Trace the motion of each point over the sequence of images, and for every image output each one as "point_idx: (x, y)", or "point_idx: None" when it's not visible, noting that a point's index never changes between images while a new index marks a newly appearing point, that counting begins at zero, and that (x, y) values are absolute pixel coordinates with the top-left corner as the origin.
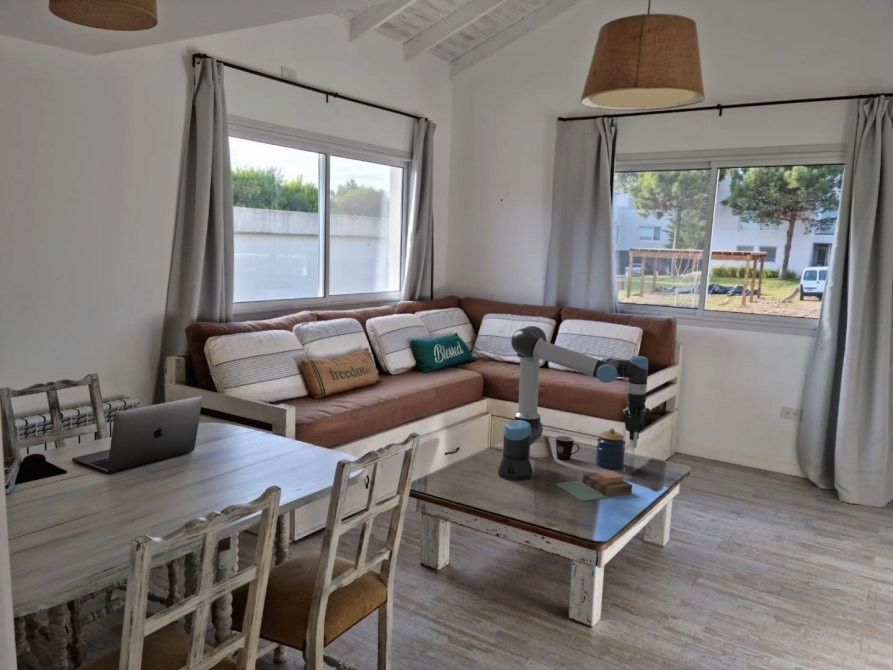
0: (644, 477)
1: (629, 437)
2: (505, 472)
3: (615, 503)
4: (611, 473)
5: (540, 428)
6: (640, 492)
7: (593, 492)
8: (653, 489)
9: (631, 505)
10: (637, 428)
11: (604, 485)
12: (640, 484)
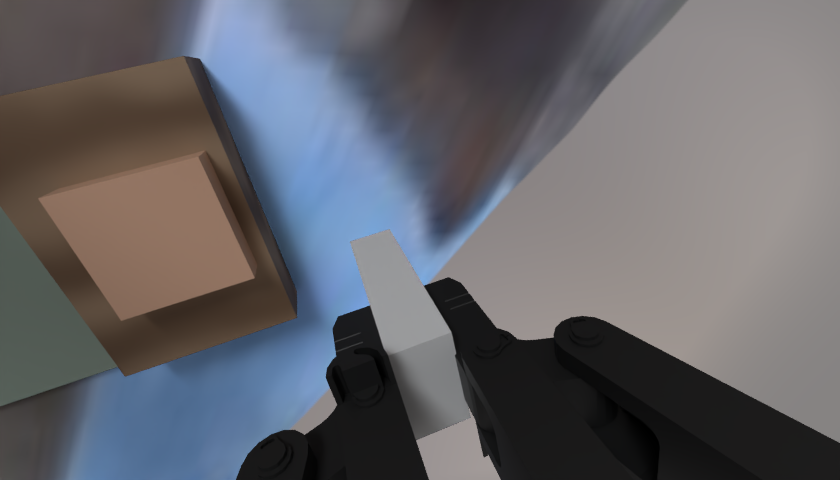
0: (479, 30)
1: (335, 338)
2: None
3: (174, 404)
4: (180, 221)
5: None
6: (354, 264)
7: (54, 309)
8: (437, 222)
9: (251, 412)
10: (502, 476)
11: (106, 345)
12: (403, 150)
